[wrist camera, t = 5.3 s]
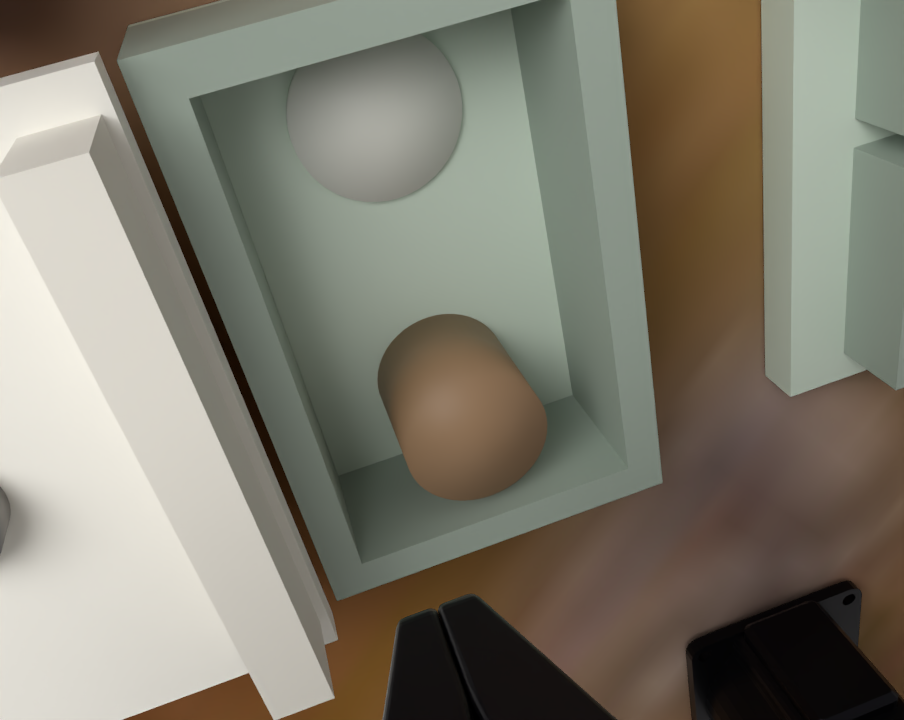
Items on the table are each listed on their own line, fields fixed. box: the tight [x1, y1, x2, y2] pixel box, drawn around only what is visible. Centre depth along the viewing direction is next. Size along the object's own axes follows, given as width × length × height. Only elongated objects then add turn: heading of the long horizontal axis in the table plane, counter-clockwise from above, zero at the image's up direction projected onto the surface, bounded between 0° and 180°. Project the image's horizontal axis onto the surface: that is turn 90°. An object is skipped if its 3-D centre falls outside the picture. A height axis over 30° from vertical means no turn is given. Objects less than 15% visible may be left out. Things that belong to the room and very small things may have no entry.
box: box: [117, 0, 663, 601], centre depth 18 cm, size 12×8×4 cm, turn 12°
